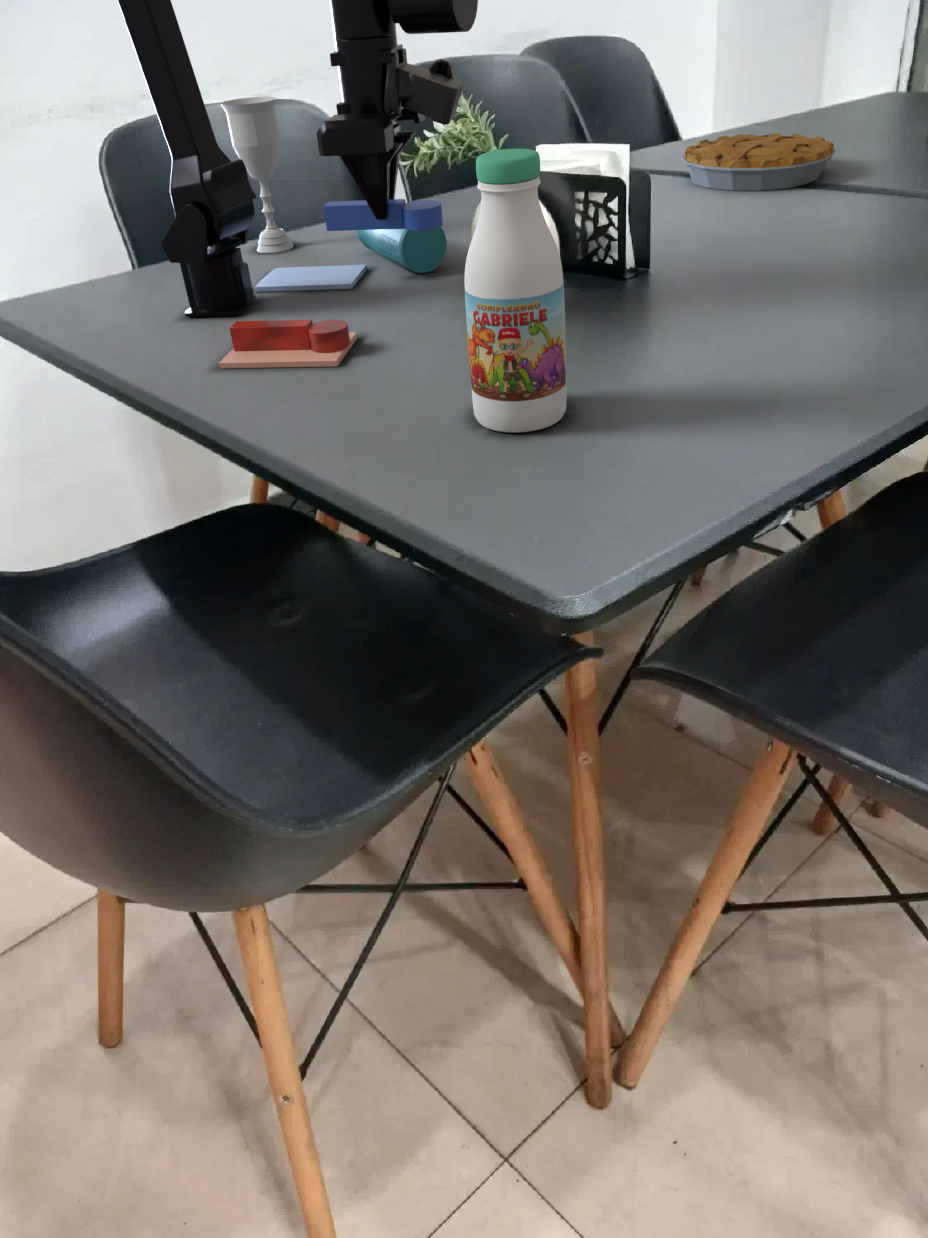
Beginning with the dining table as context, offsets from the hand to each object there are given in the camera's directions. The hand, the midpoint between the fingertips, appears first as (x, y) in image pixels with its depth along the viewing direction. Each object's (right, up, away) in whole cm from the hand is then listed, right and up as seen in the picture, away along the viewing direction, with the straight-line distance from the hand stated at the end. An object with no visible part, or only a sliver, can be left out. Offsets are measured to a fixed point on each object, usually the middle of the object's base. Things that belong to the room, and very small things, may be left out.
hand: (384, 216), depth 98 cm
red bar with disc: (-10, -13, 0) cm, 16 cm away
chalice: (-18, +10, +36) cm, 41 cm away
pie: (+52, +26, +48) cm, 75 cm away
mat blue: (-11, +1, +21) cm, 24 cm away
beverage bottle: (+4, +3, +16) cm, 17 cm away
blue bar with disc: (0, -1, +1) cm, 1 cm away
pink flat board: (-10, -14, 0) cm, 17 cm away
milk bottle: (+13, -24, -17) cm, 32 cm away
